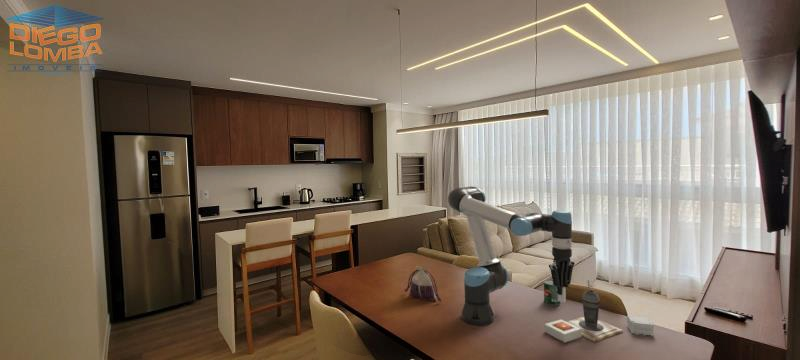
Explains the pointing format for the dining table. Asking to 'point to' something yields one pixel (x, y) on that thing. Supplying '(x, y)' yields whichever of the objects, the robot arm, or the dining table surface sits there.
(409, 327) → the dining table surface
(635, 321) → the small box
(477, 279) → the robot arm
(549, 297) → the canned tomato
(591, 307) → the beverage cup
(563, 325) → the button
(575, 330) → the button housing
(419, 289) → the pouch
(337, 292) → the dining table surface
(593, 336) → the beige flat square slab
